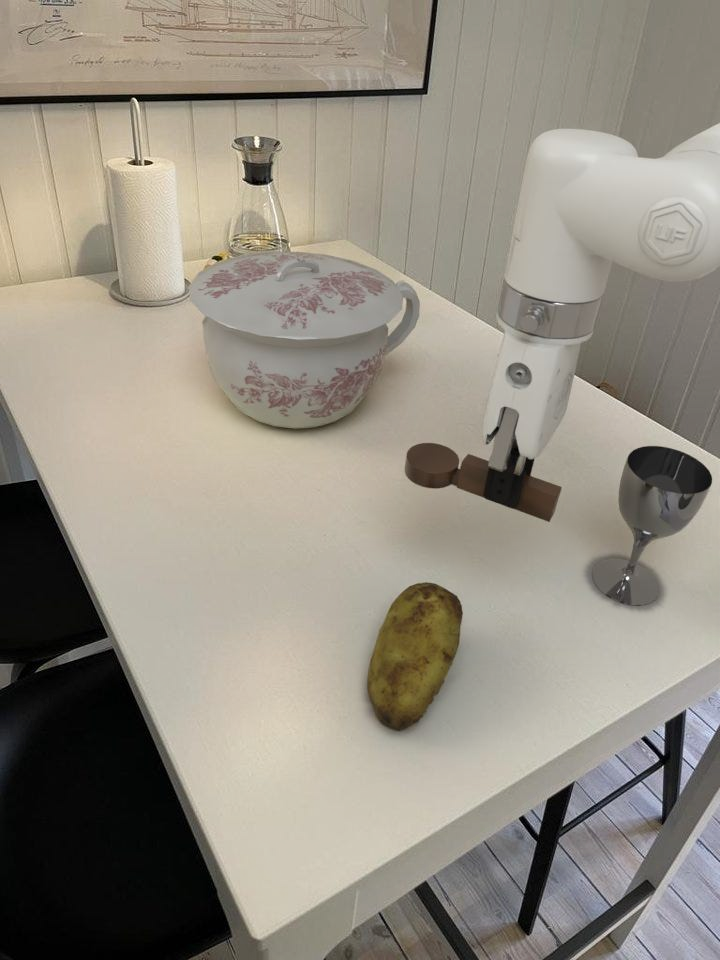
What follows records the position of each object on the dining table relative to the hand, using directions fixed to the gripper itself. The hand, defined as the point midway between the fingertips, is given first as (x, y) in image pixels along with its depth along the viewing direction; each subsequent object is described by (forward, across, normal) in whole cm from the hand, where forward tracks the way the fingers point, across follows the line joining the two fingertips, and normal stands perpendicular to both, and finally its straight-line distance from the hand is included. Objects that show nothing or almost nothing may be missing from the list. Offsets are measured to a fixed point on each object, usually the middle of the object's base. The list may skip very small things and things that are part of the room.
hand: (504, 494), depth 69 cm
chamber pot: (+14, +23, +36) cm, 45 cm away
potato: (+14, -13, +2) cm, 19 cm away
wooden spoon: (+1, 0, +3) cm, 3 cm away
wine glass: (+14, +12, -12) cm, 22 cm away
